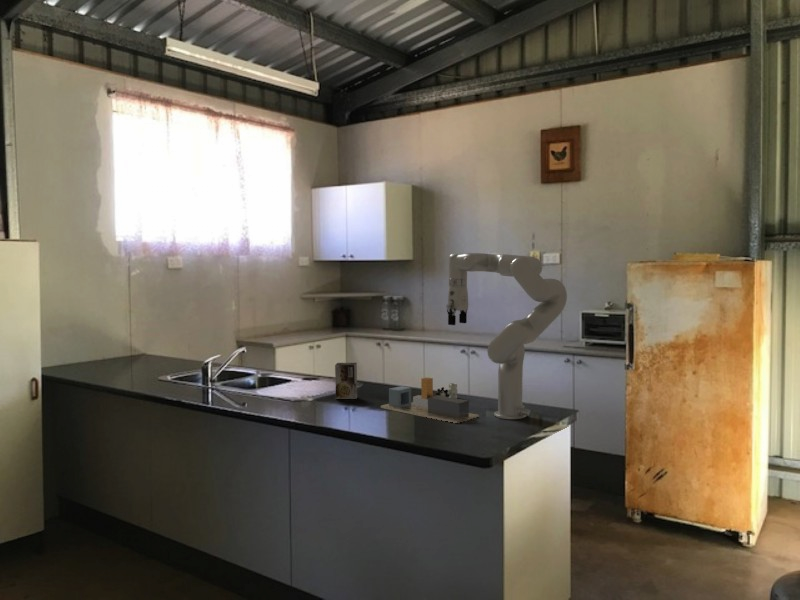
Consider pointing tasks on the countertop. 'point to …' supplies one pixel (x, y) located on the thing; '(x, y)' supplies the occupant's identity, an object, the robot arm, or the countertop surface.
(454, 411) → the stand
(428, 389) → the sliding bar with handle
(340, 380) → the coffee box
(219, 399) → the countertop surface
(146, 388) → the countertop surface
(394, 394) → the socket block
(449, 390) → the valve
